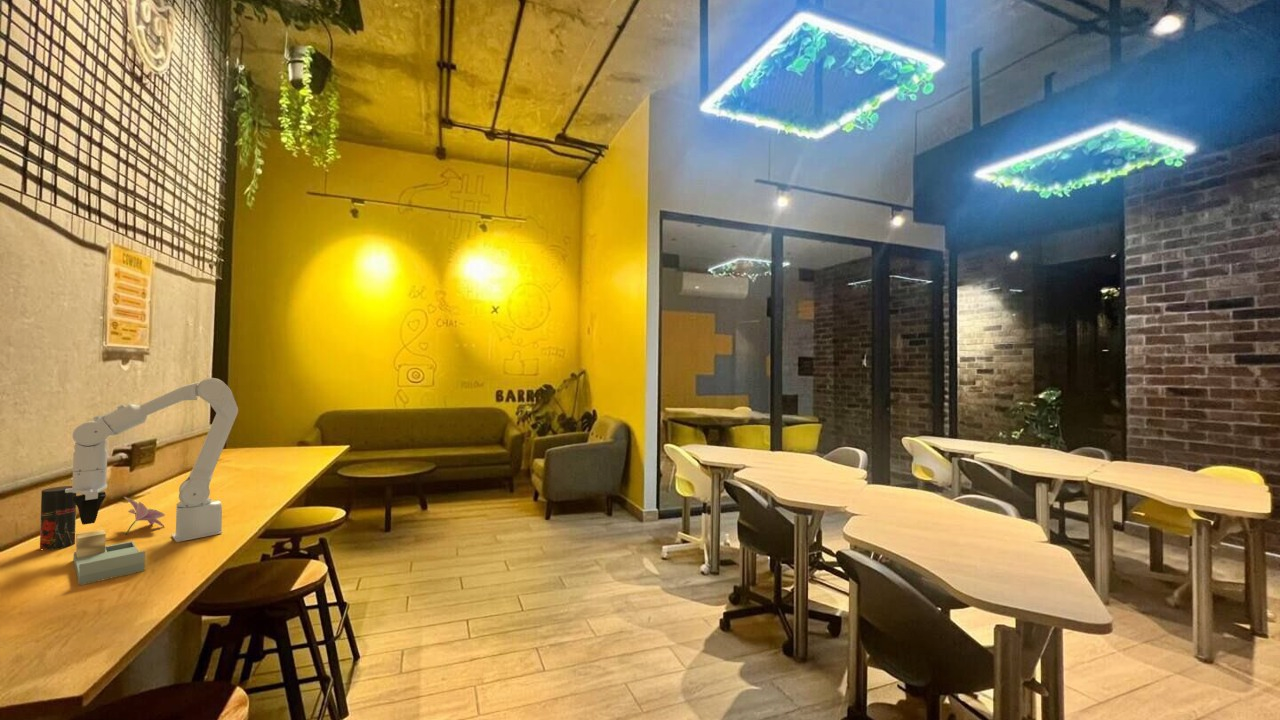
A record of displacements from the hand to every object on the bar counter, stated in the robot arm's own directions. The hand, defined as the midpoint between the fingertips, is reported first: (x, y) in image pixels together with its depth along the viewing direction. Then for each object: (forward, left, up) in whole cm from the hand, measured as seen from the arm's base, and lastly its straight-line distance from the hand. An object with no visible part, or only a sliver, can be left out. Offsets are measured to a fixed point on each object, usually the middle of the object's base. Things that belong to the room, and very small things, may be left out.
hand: (88, 523), depth 124 cm
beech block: (0, +7, -6) cm, 9 cm away
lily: (-12, -14, -8) cm, 20 cm away
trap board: (-3, +15, -8) cm, 17 cm away
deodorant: (+4, -13, -8) cm, 16 cm away
